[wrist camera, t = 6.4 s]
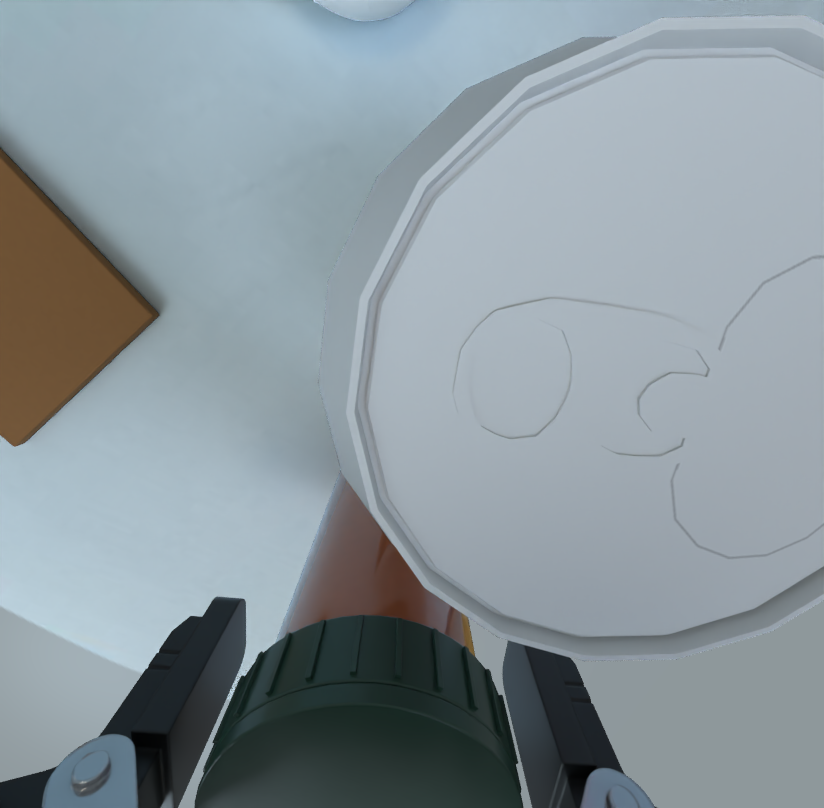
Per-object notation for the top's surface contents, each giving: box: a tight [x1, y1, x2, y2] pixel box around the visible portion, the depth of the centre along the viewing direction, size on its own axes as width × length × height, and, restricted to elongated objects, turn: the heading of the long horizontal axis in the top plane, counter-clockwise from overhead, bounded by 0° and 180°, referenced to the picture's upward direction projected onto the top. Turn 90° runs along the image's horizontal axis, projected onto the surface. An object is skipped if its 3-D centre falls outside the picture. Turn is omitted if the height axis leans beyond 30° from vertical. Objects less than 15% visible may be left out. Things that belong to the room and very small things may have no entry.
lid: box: [195, 615, 523, 808], centre depth 8 cm, size 6×6×2 cm
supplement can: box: [318, 15, 824, 661], centre depth 12 cm, size 8×8×15 cm
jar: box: [275, 470, 475, 656], centre depth 14 cm, size 5×5×14 cm
